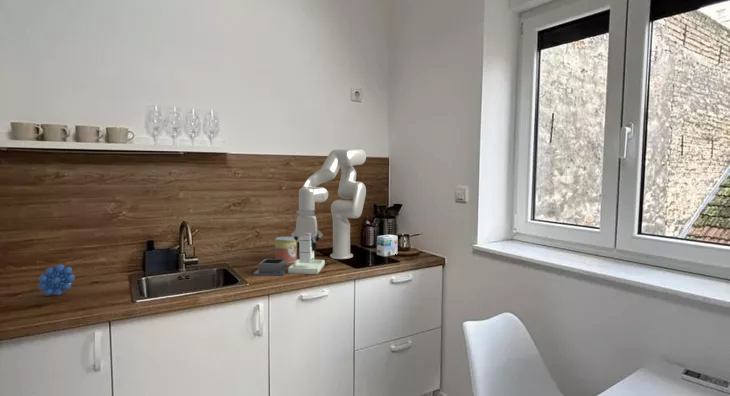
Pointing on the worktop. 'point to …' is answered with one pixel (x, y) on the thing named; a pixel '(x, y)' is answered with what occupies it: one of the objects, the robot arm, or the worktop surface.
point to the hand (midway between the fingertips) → (306, 249)
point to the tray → (306, 267)
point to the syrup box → (306, 248)
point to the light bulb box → (387, 245)
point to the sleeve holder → (272, 267)
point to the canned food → (285, 249)
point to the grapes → (56, 280)
